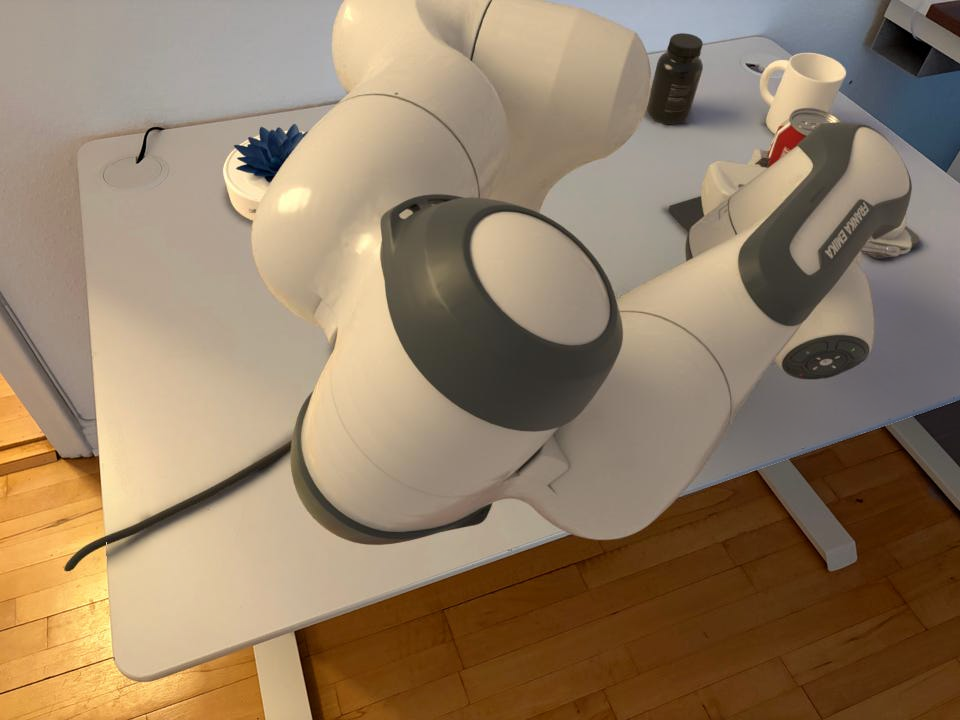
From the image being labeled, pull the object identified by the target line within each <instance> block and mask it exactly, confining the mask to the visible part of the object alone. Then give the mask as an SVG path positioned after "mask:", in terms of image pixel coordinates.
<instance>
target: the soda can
mask: <svg viewBox="0 0 960 720" xmlns="http://www.w3.org/2000/svg"><path fill="white" fill-rule="evenodd" d="M839 122H842V121H841V120H840V119H839V118H838V117H837V116H835V115H834V114H832V113H830V112H826V111H823V110H820V109H816V108H800V109H797V110H795V111H793V112H792V113H791V115H790V117H789V119H787V120H786V121H784V122H783V123H782V124H781V125H780V126H779V127H778V130H777V132H776V134H774V137H773V139H772V142H771V144H770V145H769V148H768V151H769V153H768V154H769V157H770V159H769V162H768V164H766V168H769V167H770V166H771V165H773V164H774V163H775V162H776V161H778V160H779V159H780V158H782V157H783V156H784V155H786V154H787V153H788V152H790V151H791V150H792V149H794V148H795V147H796V146H797V144H798V143H799V142H800V141H802V140H803V139H804V138H805V137H806V136H807V135H809V134H810V133H811V132H812V131H813V130H814V129H816V128H817V127H818V126H819V125H820V124H822V123H839Z"/></svg>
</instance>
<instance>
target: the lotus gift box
mask: <svg viewBox="0 0 960 720" xmlns="http://www.w3.org/2000/svg"><path fill="white" fill-rule="evenodd" d="M309 131H310V130H308V131H301V130H300V129H299V127H298V125H297V124H296V123H293V124H292V125H291V126H290V127H289V129H288V130H283V129H282V128H281V127H279V126H278V127H276V129H275V130H274V129H270V131H269V129H267V128H266V127H263V126H260V127H259V135H256V136H254V137H252V136H248V137H247V140H245V141H243V142H242V143H240V144H234V145H233V148H234V149H233V150H231V152H230V153H229V154H228V156H227V158H226V159H225V162H224V164H223V168H222V174H223V179H224V181H225V186H226V190H227V193H228V196H229V200H230V203H231V205H232V206H233V208H234V209H235V211H236V212H237V213H238V214H239V215H241V216H243V217H244V218H246V219H247V220H249V221H252V222H253V219H254V215H255V213H256V210H257V208H258V205H259V203H260V201H261V199H262V198H263V196H264V194H265V192H266V190H267V189H268V187H269V185H270V183H271V182H272V180H273V178H274V177H275V175H276V174H277V172H278V171H279V169H280V168H281V166H282V165H283V163H284V162H285V161H286V159H287V158H288V157H289V155H290V154H291V153H292V151H293V150H294V149H295V148H296V146H297V145H298V144H299V142H300V141H301V140H302V139H303V138H304V136H305V135H306V134H307V133H308V132H309Z"/></svg>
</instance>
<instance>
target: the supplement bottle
mask: <svg viewBox="0 0 960 720" xmlns="http://www.w3.org/2000/svg"><path fill="white" fill-rule="evenodd" d="M703 45H704V42H703V40H702V39H701V38H700V37H698V36H697V35H695V34H692V33H684V32H680V33H679V32H678V33H675V34H673V35H672V36H670V39H669V41H668V45H667V48H666V51H665V52H663V54H661V55H660V56H659V58H658V60H657V63H656V67H655V71H654V76H653V79H652V82H651V91H650V98H649V102H648V106H647V109H646V112H647V115H648V116H649V118H651V119H652V120H654V121H656V122H658V123H661V124H666V125H679V124H681V123H684V122H685V121H686V120H687V119H688V118H689V116H690V113H691V111H692V107H693V103H694V100H695V96H696V93H697V89H698V86H699V83H700V80H701V77H702V73H703V69H704V66H703V62H702V59H701V58H700V56H701V53H702V48H703Z"/></svg>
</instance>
